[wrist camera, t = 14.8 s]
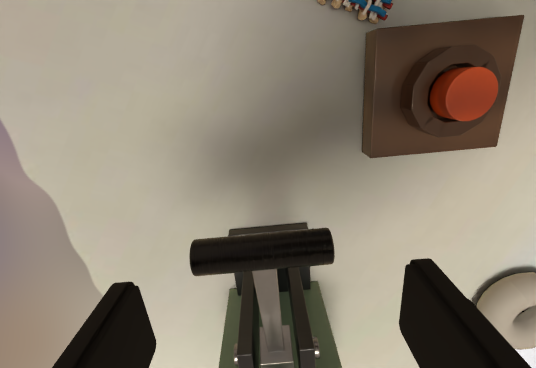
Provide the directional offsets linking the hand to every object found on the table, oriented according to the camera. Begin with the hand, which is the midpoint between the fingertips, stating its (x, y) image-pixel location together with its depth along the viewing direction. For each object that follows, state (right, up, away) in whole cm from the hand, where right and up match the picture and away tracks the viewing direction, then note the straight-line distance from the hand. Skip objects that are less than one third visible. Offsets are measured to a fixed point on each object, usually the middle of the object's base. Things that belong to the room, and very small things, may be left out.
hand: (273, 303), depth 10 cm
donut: (+29, -10, +24) cm, 39 cm away
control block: (+14, +12, +15) cm, 24 cm away
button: (+14, +11, +11) cm, 21 cm away
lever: (0, -3, +7) cm, 8 cm away
